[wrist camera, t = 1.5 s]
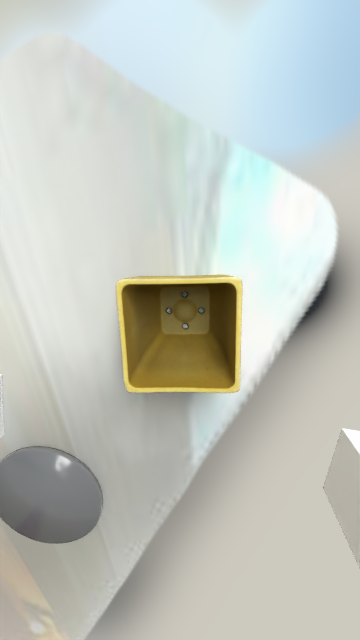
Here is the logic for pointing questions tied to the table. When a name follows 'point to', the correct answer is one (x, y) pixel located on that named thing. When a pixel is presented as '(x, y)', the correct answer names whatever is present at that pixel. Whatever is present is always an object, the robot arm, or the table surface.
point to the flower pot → (180, 333)
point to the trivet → (48, 495)
